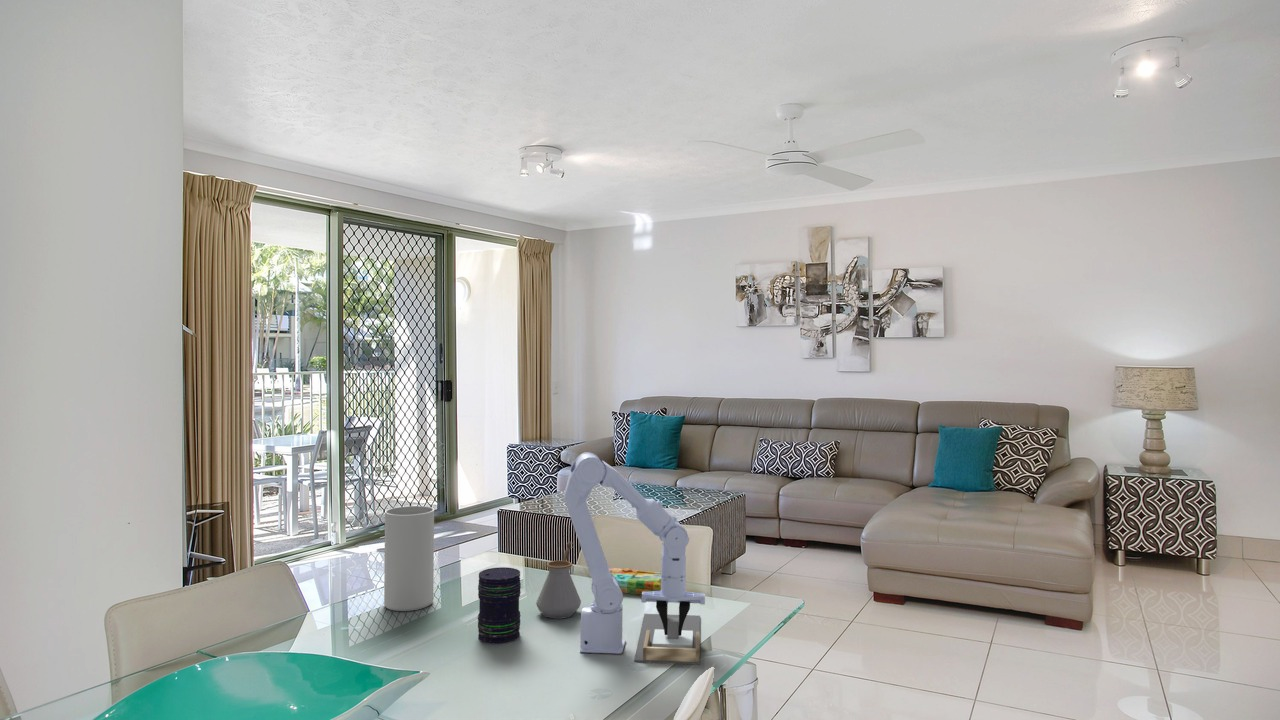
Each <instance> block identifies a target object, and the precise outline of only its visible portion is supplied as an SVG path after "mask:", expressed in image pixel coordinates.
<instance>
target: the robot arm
mask: <svg viewBox="0 0 1280 720" xmlns="http://www.w3.org/2000/svg"><path fill="white" fill-rule="evenodd" d="M598 484H599V485H600V487H605V488H606V487H607V488H612V489H613V490H614V491H615V492H616V493H618V494H619V495H620V496H621V497H622V498H623V499H625V501H627V502H628V503H629V504H630V505H631V506H632V507H633V508H635V511H636V512H635V515H636V518H637V520H639V521H640V522H641V523H642V524H643V525H644V526H645V527H646V528H647V529H648V530H649V531H650V532H652V533H653V535H654V536H656V537H659V539H660V541H662V543H661V556H660V560H661V562H660V571H661V572H660V573H661V590H660V591H656V590H654V591H650V592H642V595H641V603H647V602H648V603H649V602H650V603H651V602H652V603H655V607H656V611H657V614H659V615H660V617H661V620H662V623H663V627H664V633H665V635H667V623H668V619H667V615H668V603H673V604H674V603H675V604H676V603H678V604H679V606H678V615H679V629H678V636H681V633H682V627H683V624H684V621H685V618H686V616H687V615H688V613H689V611H690V609H691V604H700V605H703V606H704V605H705V604H706V594H705V593H701V592H699V593H698V592H692V591H687V589H686V588H687V585H686V582H687V555H686V548H687V546H688V544H689V543H690V542H689V541H690V537H689V535H688V532H687V530H686V529H685V528H684V526H683V525H682V524H680V521H679V520H678V518H677V517H676V516H675V515H671V514H670V513H669V512H668V511H667V510H666V509H665V508H663V505H664V504H663V502H661V501H660V500H659V499H657V501H656V500H655V499H654V498H645V497H644V496H643V495H642V494H641V493H640V492H639V491H638V490H637V489H636V488H635V487H634V486H632V484H631V483H630V482H629V481H628V480H627V479H626V478H625V477H624V476H623V475H622V474H621V473H620V472H619V471H618V470H616V469H615V468H614V467H612V466H611V465H610V464H608V463H607V462H605V460H600V458H599V456H598V455H597V454H595V453H593V452H588V451H587V452H583V453H581V454H579V455H578V456H577V457H576V459H575V460H574V462H573V463H572V464H571V465H570V468H569V473H568V477H567V481H566V486H565V488H564V493H563V498H564V499H563V500H564V503H565V506H566V509H567V511H568V514H569V516H570V520H571V522H572V526H573V529H574V532H575V534H576V537H577V540H578V543H579V546H580V549H581V551H582V555H583V558H584V560H585V563H586V566H587V568H588V572H589V574H590V578H591V591H592V594H593V598H594V599H593V601H592V603H591V604H590V606H583V607H582V609H581V615H580V649H579V652H580V653H589V654H590V653H595V654H596V653H597V654H618V655H620V654H622V653H624V647H625V644H626V638H623V600H624V595H623V594H624V593H622V591H621V589H620V588H619V585H618V581H617V579H616V578H615V577H614V576H613V575H612V574H611V572H610V570H609V564H608V561H607V559H606V556H605V552H604V551H603V546H602V544H601V542H600V539H599V535H598V533H597V529H596V527H595V524H594V521H593V518H592V516H591V512H590V510H589V507H588V504H587V499H588V497H589V496H590V494H591V492H592V490H593V489H594V488H595V487H596V486H598Z"/></svg>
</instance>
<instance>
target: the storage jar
mask: <svg viewBox="0 0 1280 720" xmlns="http://www.w3.org/2000/svg"><path fill="white" fill-rule="evenodd" d="M521 584H522V583H521V571H520V570H519V569H518V568H514V567H504V566H503V567H493V568H492V567H491V568H490V567H489V568H486V569H484V570H481V571H480V572H479V573H478V584H477V590H478V593H477V597H478V599H479V613H478V615H477V629H478V636H477V638H478V641H479V642H482V643H484V644H488V645H503V644H509V643H513V642H515V641H517V640H518V639H519V638H520V637H521V636H520V635H521V632H520V629H521V611H520V597H521V593H522V591H521V586H522V585H521Z"/></svg>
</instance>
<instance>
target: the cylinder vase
mask: <svg viewBox="0 0 1280 720" xmlns="http://www.w3.org/2000/svg"><path fill="white" fill-rule="evenodd" d="M434 545H435V508H434V507H433V506H432V507H431V506H426V505H425V506H424V505H408V506H407V505H406V506H398V507H392V508H389V509H386V510H385V511H384V571H383V572H384V574H383V575H384V576H383V577H384V578H383V580H384V581H383V582H384V583H383V587H384V589H383V591H384V592H383V593H384V594H383V595H384V597H383V602H384V603H383V605H384V606H385V608H386V609H387V610H390V611H395V612H411V611H418V610H422V609H425V608H428V607H429V606H430V605H432V604H433V602H434V583H435V582H434V580H435V579H434V576H435V575H434V573H435V571H434V570H435V569H434V568H435V567H434V566H435V564H434V563H435V558H434V555H435V554H434V553H435V546H434Z"/></svg>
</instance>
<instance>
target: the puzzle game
mask: <svg viewBox="0 0 1280 720" xmlns="http://www.w3.org/2000/svg"><path fill="white" fill-rule="evenodd" d="M608 567H609V566H608ZM609 570H610V572H611V574H612V575H613V576H614V577H615V578H616V579H617V581H618V585H619V588H620V589H621V591H622V594H628V593H632V594H631V595H638V594H642V592H650V591H661V572H660V571H659V572H658V571H657V572H656V571H648V570H647V571H646V570H636V569H632V568H629V567H627V568H619V567H609Z"/></svg>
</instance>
